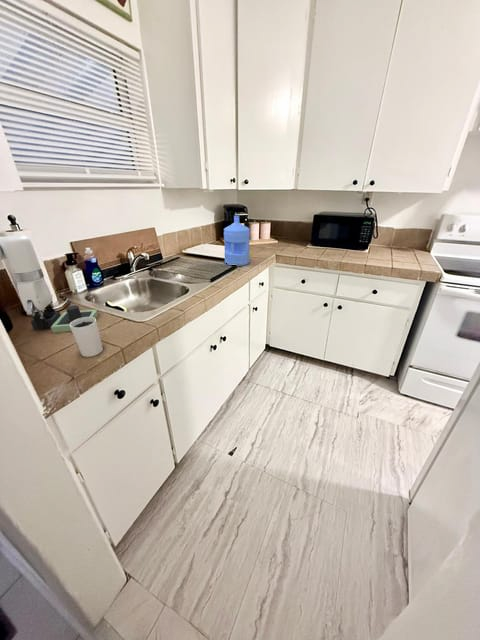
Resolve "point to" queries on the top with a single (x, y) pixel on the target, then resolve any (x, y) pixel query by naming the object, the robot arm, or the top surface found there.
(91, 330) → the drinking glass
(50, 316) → the dark grey square bin
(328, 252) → the top surface
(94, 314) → the green square tray
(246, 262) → the water jug
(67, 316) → the black stud pad
